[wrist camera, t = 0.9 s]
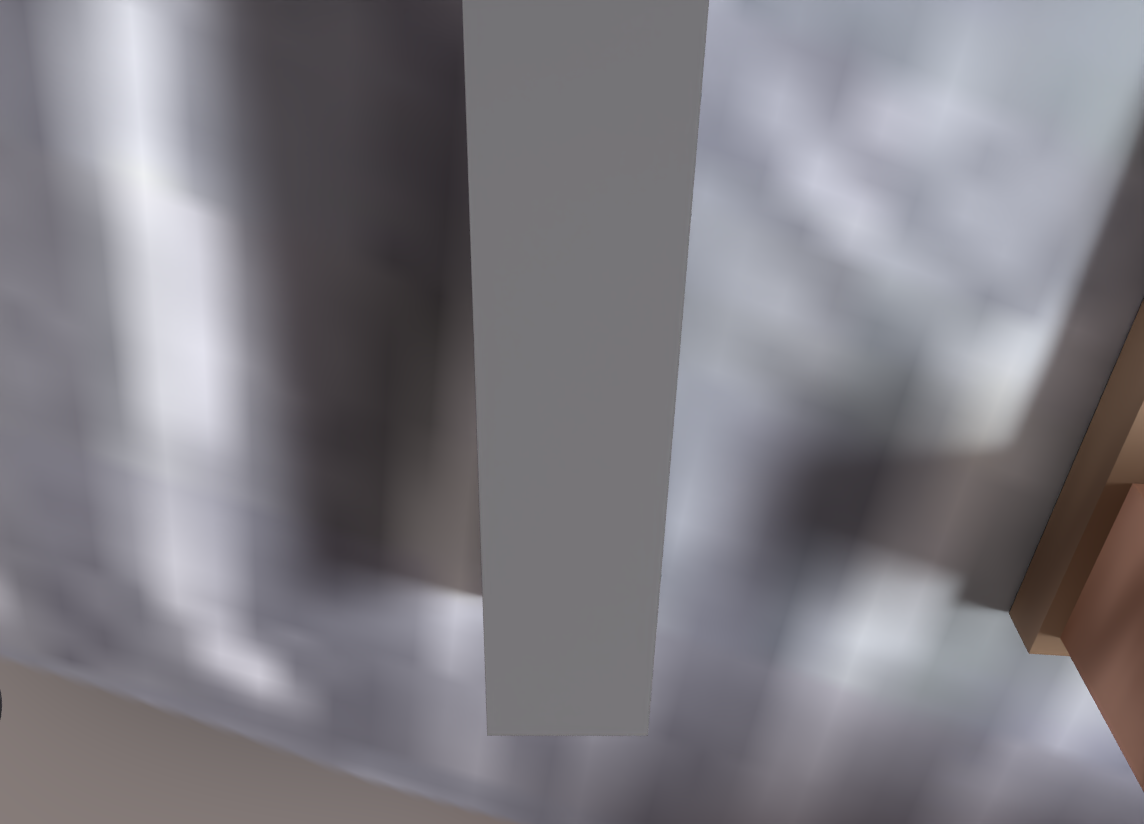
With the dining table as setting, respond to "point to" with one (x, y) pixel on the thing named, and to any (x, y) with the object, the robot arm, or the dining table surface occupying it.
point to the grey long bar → (577, 341)
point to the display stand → (1099, 559)
